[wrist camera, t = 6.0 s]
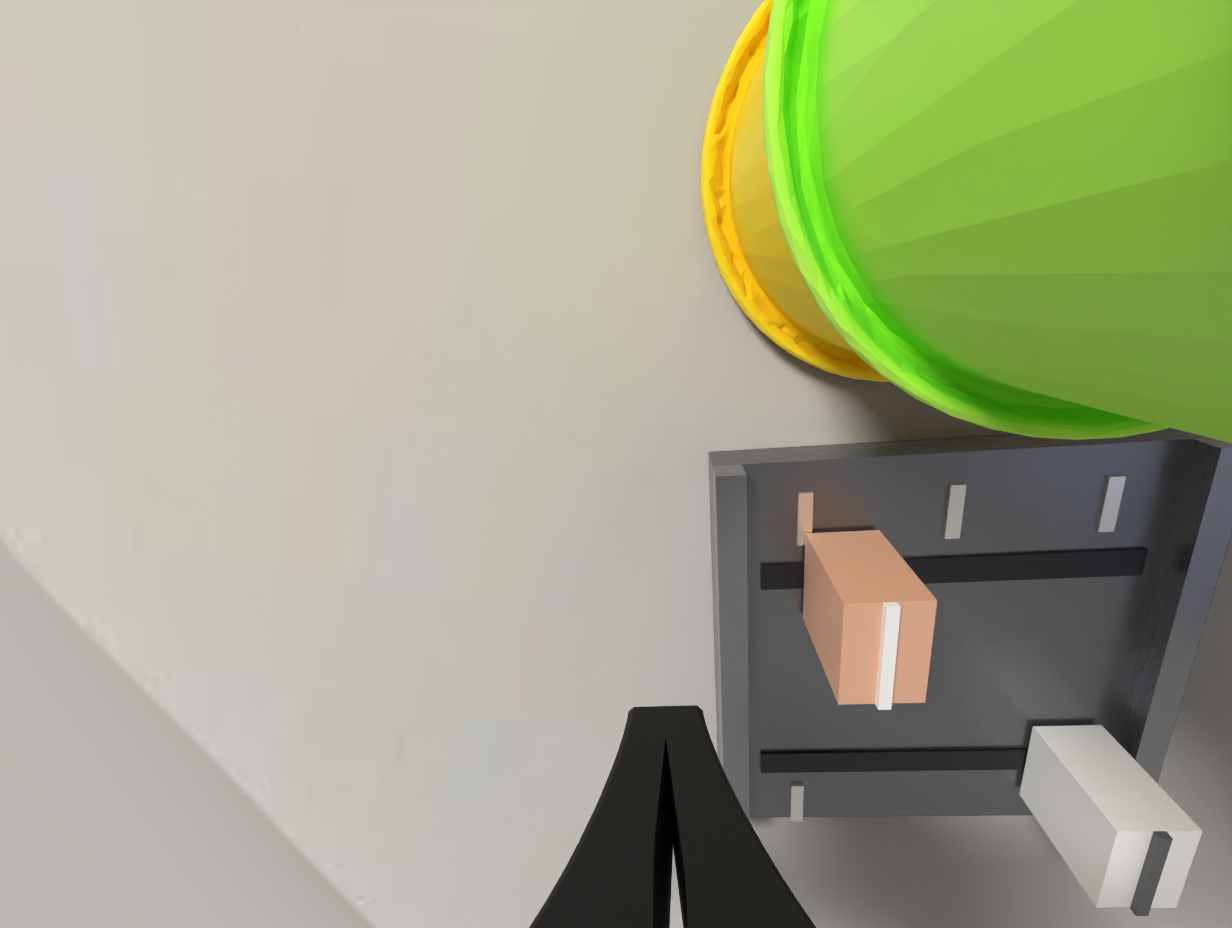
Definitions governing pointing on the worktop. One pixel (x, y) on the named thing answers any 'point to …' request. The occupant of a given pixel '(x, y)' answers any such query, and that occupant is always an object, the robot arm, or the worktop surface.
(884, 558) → the fader terracotta
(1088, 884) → the fader white
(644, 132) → the worktop surface
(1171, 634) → the fader board
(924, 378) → the stacking cups
